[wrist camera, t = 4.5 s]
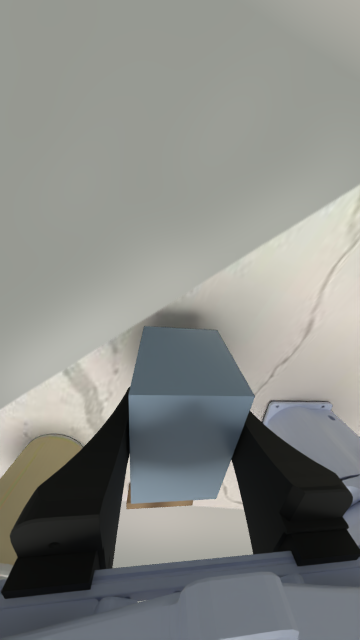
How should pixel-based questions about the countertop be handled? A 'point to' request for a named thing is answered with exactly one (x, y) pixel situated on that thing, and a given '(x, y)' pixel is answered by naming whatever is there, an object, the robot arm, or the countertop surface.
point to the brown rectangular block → (155, 503)
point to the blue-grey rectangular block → (184, 414)
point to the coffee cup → (28, 485)
